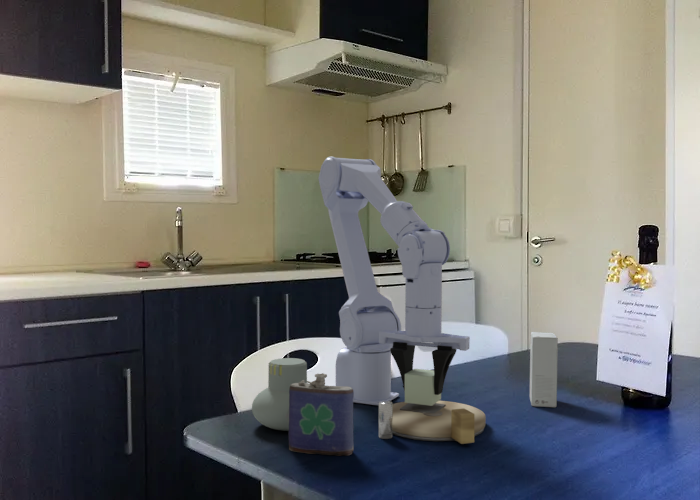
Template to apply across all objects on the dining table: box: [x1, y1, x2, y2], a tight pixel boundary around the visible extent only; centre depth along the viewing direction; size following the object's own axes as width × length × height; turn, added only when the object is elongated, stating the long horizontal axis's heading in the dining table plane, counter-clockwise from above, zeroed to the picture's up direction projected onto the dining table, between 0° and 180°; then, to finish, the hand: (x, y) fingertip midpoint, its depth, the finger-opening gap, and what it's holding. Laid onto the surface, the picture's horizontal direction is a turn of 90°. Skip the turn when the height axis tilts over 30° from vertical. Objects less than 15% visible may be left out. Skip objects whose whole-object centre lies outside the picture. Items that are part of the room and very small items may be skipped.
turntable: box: [392, 400, 486, 445], centre depth 102 cm, size 16×16×4 cm
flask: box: [287, 372, 354, 457], centre depth 91 cm, size 9×3×11 cm, turn 74°
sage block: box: [404, 368, 442, 406], centre depth 106 cm, size 4×4×4 cm
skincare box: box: [529, 331, 559, 408], centre depth 116 cm, size 6×4×12 cm
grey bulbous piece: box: [251, 357, 308, 432], centre depth 102 cm, size 11×8×10 cm
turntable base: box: [378, 401, 485, 442], centre depth 102 cm, size 16×17×5 cm
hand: (423, 391), depth 106 cm, fingers closed on sage block, 4 cm apart
